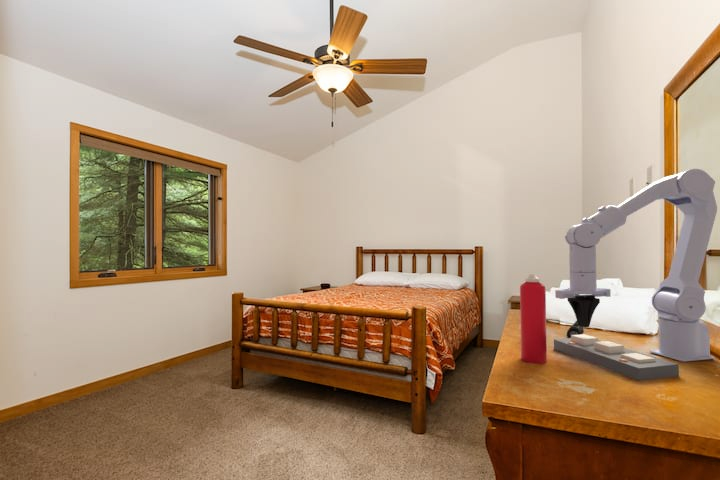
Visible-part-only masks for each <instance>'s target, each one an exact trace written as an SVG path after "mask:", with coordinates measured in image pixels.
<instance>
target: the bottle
mask: <svg viewBox="0 0 720 480" xmlns="http://www.w3.org/2000/svg"><path fill="white" fill-rule="evenodd" d="M546 294H547V293H546V286H545V285H544V284H543V283H541V282H540V278H539V277H537V274H528V276H527V277H526V278H525V282H524V283H522V284H520V287H519V305H520V306H519V309H520V312H519V315H520V359H521V360H522V361H523V362H525V363H529V364H540V365H543V364H546V363H547V361H548V360H547V359H548V358H547V357H548V356H547V355H548V353H547V349H548V347H547V301H546V299H547V298H546Z"/></svg>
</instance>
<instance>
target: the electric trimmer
mask: <svg viewBox="0 0 720 480" xmlns="http://www.w3.org/2000/svg"><path fill="white" fill-rule="evenodd" d="M583 332H584V327H581V326H578V322H577V320H576V321H575V322H574V323H573V324H572V325H570V327H569V328H568V329H567V331H566V337H567V338H571V335H580V334H583Z"/></svg>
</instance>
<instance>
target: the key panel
mask: <svg viewBox="0 0 720 480" xmlns="http://www.w3.org/2000/svg"><path fill="white" fill-rule="evenodd" d="M598 342H602V340H598ZM553 350H554V351H555V350H556V351H558V352H561V353H564V354H566V355H568V354H569V356H571V355H572V356H571V357H574V358H576V357H577V359H579V358H580V360H582V361H585V362H588V363H590V364H593V365H596V366H597V367H601V368H603V367H604V369H606V370H609V371H611V370H612V372H614V373H617V374H620V375H623V376H625V377H628V378H630V379H633V380H636V381H638V382H640V381H641V382H642V380H643V381H650V380H652V381H653V380H659V379H661V380H662V379H669V378H670V379H671V378H678V377H680V364H679V363H677V362H672V361H669V360H667V359H663V358H659V357H656V356H653V355H649V354H647V353H643V352H638V351H635V350H633V349H628V348H626V347H624V353H613V354H608V353H605V352H602V351H599V350H596V349H594V345H585V346H584V345H580V344H577V343H574V342H571V338H569V337H567V338H556V339H553ZM630 353H638V354H642V355H645V356H648V357H652V358H655V362H651V363H641V364H639V363H636V362H633V361H630V360H627V359H623V358H621V354H630Z"/></svg>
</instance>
